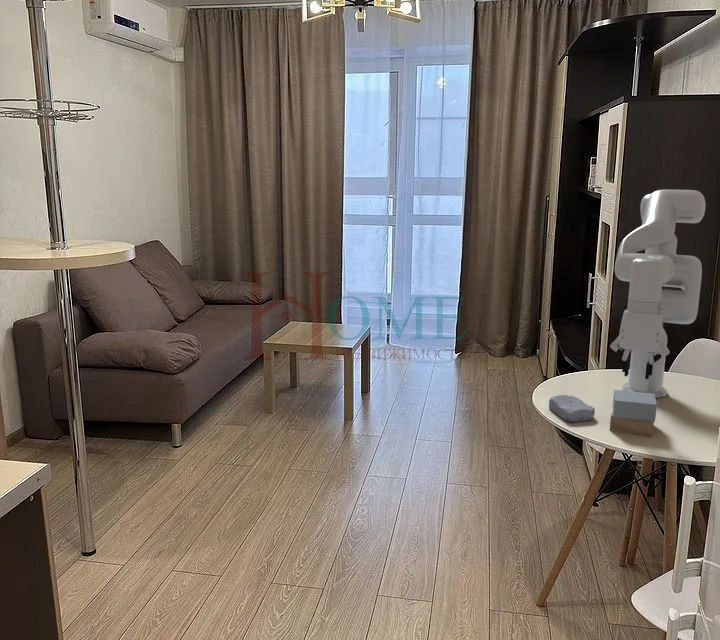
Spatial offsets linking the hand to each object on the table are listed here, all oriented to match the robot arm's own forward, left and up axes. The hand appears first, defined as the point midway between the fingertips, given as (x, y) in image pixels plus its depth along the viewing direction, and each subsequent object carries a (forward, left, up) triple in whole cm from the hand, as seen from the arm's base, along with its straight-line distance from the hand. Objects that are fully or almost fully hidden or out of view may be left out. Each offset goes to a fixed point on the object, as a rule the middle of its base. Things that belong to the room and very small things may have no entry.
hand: (636, 375), depth 181 cm
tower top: (-1, 0, -10) cm, 10 cm away
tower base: (-1, 0, -15) cm, 15 cm away
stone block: (-7, -12, -14) cm, 20 cm away
